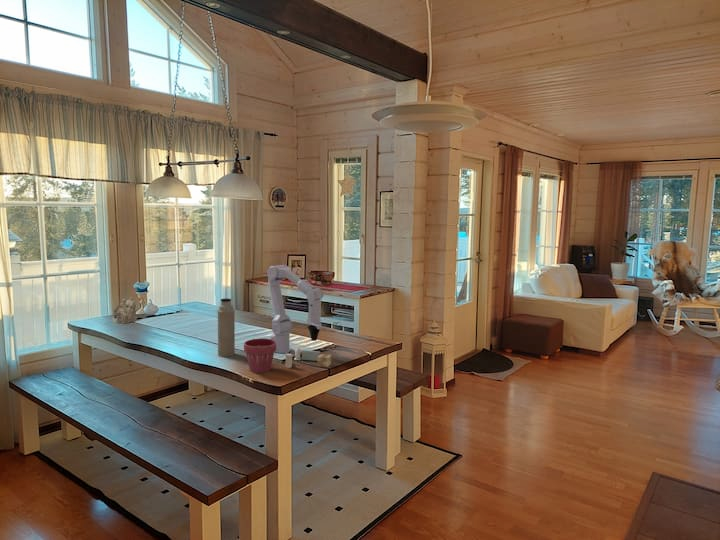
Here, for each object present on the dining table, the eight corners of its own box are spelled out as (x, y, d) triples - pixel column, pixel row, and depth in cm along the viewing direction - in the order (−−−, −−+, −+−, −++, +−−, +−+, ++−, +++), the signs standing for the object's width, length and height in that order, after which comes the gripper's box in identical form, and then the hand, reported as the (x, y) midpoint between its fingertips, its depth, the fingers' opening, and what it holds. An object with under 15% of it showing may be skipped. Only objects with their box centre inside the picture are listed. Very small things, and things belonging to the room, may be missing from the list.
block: (317, 366, 231) (317, 356, 231) (320, 363, 236) (320, 354, 236) (327, 367, 230) (328, 357, 230) (330, 364, 235) (331, 354, 234)
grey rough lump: (122, 316, 321) (120, 293, 318) (142, 319, 316) (141, 296, 313) (102, 322, 307) (101, 299, 304) (124, 326, 302) (122, 302, 299)
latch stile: (283, 367, 228) (283, 354, 227) (288, 363, 235) (288, 350, 234) (290, 368, 227) (290, 355, 227) (295, 363, 234) (295, 351, 233)
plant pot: (238, 373, 218) (238, 345, 217) (251, 363, 232) (251, 337, 230) (269, 376, 215) (269, 347, 214) (280, 366, 229) (280, 339, 227)
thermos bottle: (234, 351, 250) (234, 297, 247) (235, 356, 242) (234, 300, 239) (217, 352, 248) (217, 297, 244) (218, 357, 240) (217, 300, 237)
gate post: (292, 359, 240) (293, 349, 239) (295, 357, 243) (295, 347, 242) (300, 360, 239) (300, 350, 238) (302, 358, 242) (302, 348, 242)
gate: (301, 359, 240) (301, 350, 239) (302, 358, 241) (302, 349, 241) (319, 361, 238) (319, 352, 238) (319, 360, 239) (320, 351, 239)
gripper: (301, 310, 245) (301, 337, 246) (312, 316, 232) (311, 345, 234) (314, 309, 248) (314, 336, 250) (326, 315, 235) (325, 343, 237)
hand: (313, 340), depth 242 cm, fingers closed
